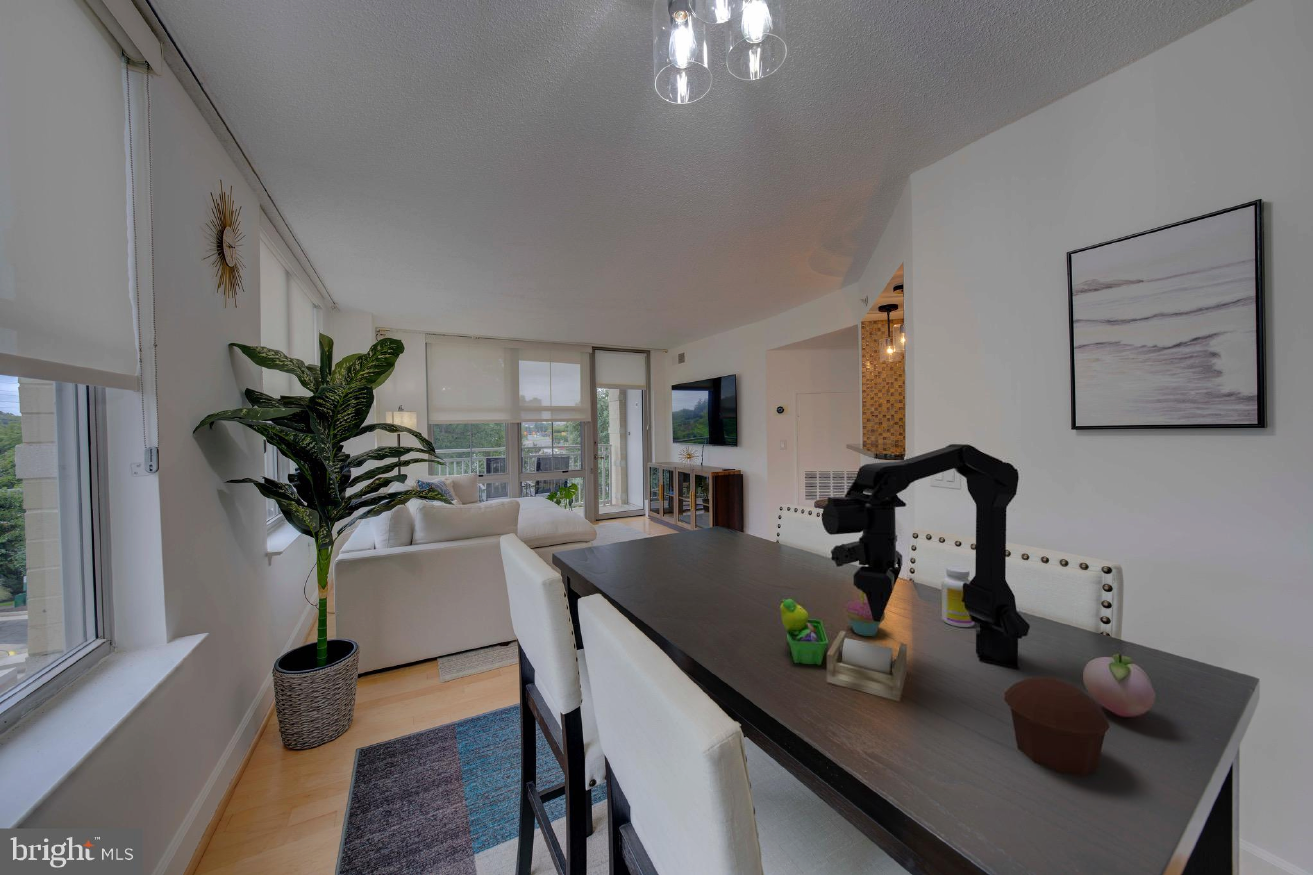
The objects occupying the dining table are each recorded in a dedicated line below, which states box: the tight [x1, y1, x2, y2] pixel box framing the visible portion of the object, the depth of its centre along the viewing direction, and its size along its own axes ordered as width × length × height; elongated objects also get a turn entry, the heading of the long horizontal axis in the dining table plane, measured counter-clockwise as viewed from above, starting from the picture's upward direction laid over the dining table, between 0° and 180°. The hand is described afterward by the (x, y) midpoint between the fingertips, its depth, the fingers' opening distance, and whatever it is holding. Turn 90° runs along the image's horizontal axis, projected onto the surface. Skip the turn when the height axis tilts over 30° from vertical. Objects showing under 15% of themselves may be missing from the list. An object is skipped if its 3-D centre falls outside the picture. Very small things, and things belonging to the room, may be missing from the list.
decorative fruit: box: [1082, 653, 1156, 718], centre depth 77 cm, size 9×8×10 cm
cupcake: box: [844, 590, 886, 637], centre depth 110 cm, size 9×8×12 cm
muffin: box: [1003, 676, 1110, 778], centre depth 68 cm, size 12×11×10 cm
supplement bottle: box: [941, 565, 975, 628], centre depth 114 cm, size 7×7×13 cm
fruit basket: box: [779, 598, 829, 666], centre depth 99 cm, size 11×9×11 cm
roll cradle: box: [826, 630, 908, 702], centre depth 90 cm, size 12×12×5 cm
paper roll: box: [842, 637, 894, 675], centre depth 90 cm, size 8×5×5 cm, turn 57°
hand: (880, 612), depth 91 cm, fingers open, 9 cm apart
